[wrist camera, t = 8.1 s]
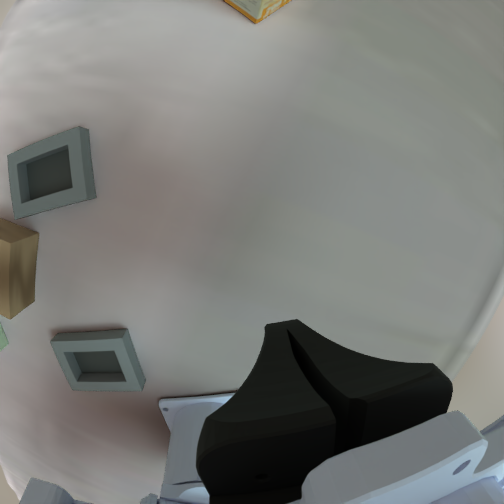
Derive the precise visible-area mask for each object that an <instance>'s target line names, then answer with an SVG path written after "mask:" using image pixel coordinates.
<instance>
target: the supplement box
mask: <svg viewBox="0 0 504 504" xmlns="http://www.w3.org/2000/svg"><path fill="white" fill-rule="evenodd" d="M224 1H225V2H226V3H228V4H229V5H231V6H232V7H234V8H235V9H236V10H238V11H239V12H241V13H242V14H243V15H245V16H246V17H247V18H249V19H250V20H251V21H253V22H254V23H258V22H260V21H262V20H263V19H264V18H266V17H267V16H269V15H270V14H272V13H273V12H275V11H276V10H278V9H279V8H281V7H282V6H284V5H285V4H287V3H288V2H290V1H291V0H224Z"/></svg>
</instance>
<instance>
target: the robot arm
mask: <svg viewBox="0 0 504 504" xmlns="http://www.w3.org/2000/svg"><path fill="white" fill-rule="evenodd" d="M264 328H265V337H264V341H263V345H262V348H261V351H260V354H259V356H258V359H257V361H256V363H255V365H254V367H253V369H252V371H251V373H250V374H249V376H248V377H247V379H246V380H245V382H244V383H243V384H242V386H241V387H240V388H239V390H238V391H237V392H236V393H228V394H219V395H210V396H199V397H186V398H170V399H161V400H160V401H159V407H160V409H161V412H162V414H163V416H164V419H165V421H166V423H167V425H168V427H169V430H170V432H171V435H170V441H169V448H168V454H167V460H166V467H165V473H164V480H163V484H162V488H161V494H160V499H157V497H158V495H155V494H149V495H148V496H146V497H144V498H142V499H141V502H140V504H504V415H503V416H502V417H501V418H499V419H498V420H496V421H495V422H493V423H492V424H490V425H489V426H487V427H486V428H484V429H483V430H481V431H479V430H478V429H477V428H476V427H475V426H474V425H473V424H472V422H471V421H470V420H469V419H468V418H467V417H466V416H465V415H464V414H463V413H461V412H460V411H458V410H457V411H452V412H449V413H446V412H447V410H448V406H449V404H450V401H451V397H452V392H453V386H452V383H451V381H450V380H449V378H448V377H447V376H446V375H445V374H444V373H443V372H442V371H441V370H440V369H439V368H438V367H437V366H435V365H434V364H433V363H405V362H397V361H390V360H384V359H379V358H375V357H371V356H367V355H364V354H361V353H358V352H355V351H353V350H350V349H347V348H345V347H343V346H341V345H339V344H337V343H335V342H333V341H331V340H329V339H327V338H325V337H324V336H322V335H320V334H319V333H317V332H315V331H314V330H312V329H311V328H309V327H308V326H306V325H305V324H304V323H302V322H301V321H299V320H298V319H295V320H289V321H283V322H277V323H271V324H267V325H266V326H265V327H264ZM164 407H166V408H168V409H166V408H164ZM19 504H92V503H87V502H83V501H78V500H74V499H73V498H72V497H71V495H70V494H69V493H68V492H67V491H66V490H64V489H63V488H62V487H60V486H58V485H56V484H53V483H49V482H46V481H43V480H39V479H36V478H31V479H30V481H29V483H28V485H27V487H26V489H25V492H24V494H23V496H22V498H21V500H20V503H19Z"/></svg>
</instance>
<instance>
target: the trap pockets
mask: <svg viewBox="0 0 504 504" xmlns="http://www.w3.org/2000/svg"><path fill="white" fill-rule="evenodd" d="M7 158H8V171H9V182H10V190H11V198H12V205H13V212H14V218H15V220H16V219H20V218H24V217H27V216H30V215H34V214H37V213H41V212H44V211H48V210H51V209H55V208H58V207H62V206H66V205H69V204H73V203H77V202H81V201H85V200H89V199H93V198H96V192H95V185H94V178H93V170H92V162H91V152H90V142H89V129H86V128H83V127H76V128H73V129H70V130H68V131H65V132H62V133H59V134H57V135H54V136H51V137H49V138H46V139H44V140H41V141H39V142H36V143H34V144H32V145H29V146H27V147H25V148H22V149H20V150H18V151H16V152H14V153H11V154H9V155H7ZM50 343H51V345H52V348H53V350H54V352H55V355H56V357H57V359H58V361H59V364H60V366H61V368H62V370H63V372H64V374H65V376H66V378H67V380H68V382H69V384H70V386H71V388H72V390H78V391H142V390H143V387H144V384H145V381H146V379H145V377H144V374H143V372H142V369H141V366H140V364H139V361H138V358H137V355H136V352H135V350H134V347H133V344H132V341H131V338H130V335H129V332H128V329H119V330H106V331H92V332H75V333H58V334H57V335H56V336H55V337H54V338H53V339H52V340H51V341H50ZM8 344H9V343H8V341H7V339H6V336H5V334H4V331H3V329H2V326H1V323H0V351H1V350H2V349H4V348H5V347H6V346H7V345H8Z"/></svg>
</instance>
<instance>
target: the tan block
mask: <svg viewBox="0 0 504 504" xmlns="http://www.w3.org/2000/svg"><path fill="white" fill-rule="evenodd" d="M38 240H39V233H37V232H35V231H32V230H30V229H27V228H24V227H22V226H19V225H17V224H14V223H12V222H9V221H7V220H4V219H2V218H0V314H1V315H2V316H4V317H6V318H8V319H12V318H13V317H14V316H16V315H17V314H18V313H19V312H21V311H22V310H23V309H25V308H26V307H27V306H29V305H30V304H31V303H33V302H34V301H35V275H36V261H37V250H38Z"/></svg>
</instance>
